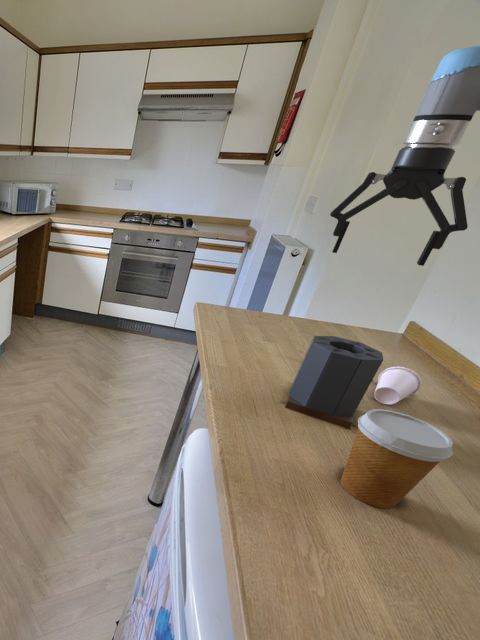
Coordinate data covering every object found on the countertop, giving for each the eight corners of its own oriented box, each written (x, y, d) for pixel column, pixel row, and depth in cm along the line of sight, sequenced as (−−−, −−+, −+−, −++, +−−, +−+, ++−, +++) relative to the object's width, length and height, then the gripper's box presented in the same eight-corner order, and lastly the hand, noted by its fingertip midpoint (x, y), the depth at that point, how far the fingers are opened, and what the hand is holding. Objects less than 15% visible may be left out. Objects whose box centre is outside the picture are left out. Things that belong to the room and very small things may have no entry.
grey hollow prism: (352, 400, 82) (381, 347, 77) (352, 422, 75) (384, 365, 70) (292, 382, 88) (315, 331, 82) (287, 401, 81) (312, 346, 75)
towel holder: (349, 407, 82) (379, 352, 77) (349, 429, 76) (382, 370, 70) (289, 388, 88) (313, 336, 83) (284, 407, 81) (310, 351, 76)
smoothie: (357, 388, 86) (377, 367, 93) (380, 415, 84) (399, 392, 91) (393, 375, 80) (412, 355, 88) (419, 404, 79) (435, 381, 86)
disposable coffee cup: (423, 505, 59) (471, 439, 54) (391, 527, 55) (439, 458, 50) (346, 463, 67) (381, 401, 62) (313, 479, 63) (348, 415, 58)
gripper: (343, 144, 82) (301, 249, 91) (537, 149, 68) (464, 273, 77) (344, 145, 87) (304, 245, 96) (523, 150, 73) (457, 266, 82)
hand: (375, 258), depth 86 cm, fingers open, 13 cm apart
